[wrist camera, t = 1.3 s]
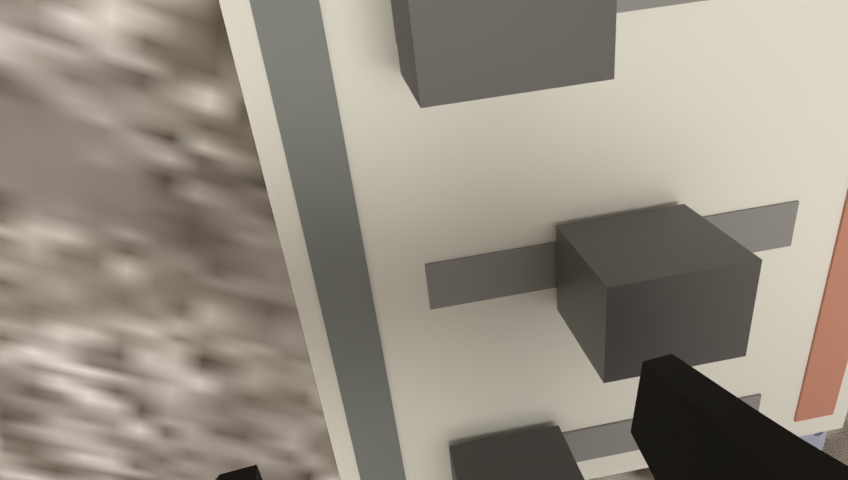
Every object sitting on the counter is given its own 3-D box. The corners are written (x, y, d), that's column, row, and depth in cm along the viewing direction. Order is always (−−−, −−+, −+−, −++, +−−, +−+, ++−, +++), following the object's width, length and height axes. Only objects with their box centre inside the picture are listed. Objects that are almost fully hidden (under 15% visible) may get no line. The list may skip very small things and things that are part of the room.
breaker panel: (790, 379, 26) (929, 508, 20) (350, 466, 25) (356, 633, 19) (906, -144, 17) (1220, -195, 11) (224, -60, 16) (158, -65, 10)
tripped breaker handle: (675, 288, 19) (745, 356, 16) (557, 309, 19) (603, 383, 16) (684, 203, 18) (762, 259, 15) (555, 225, 17) (607, 287, 14)
